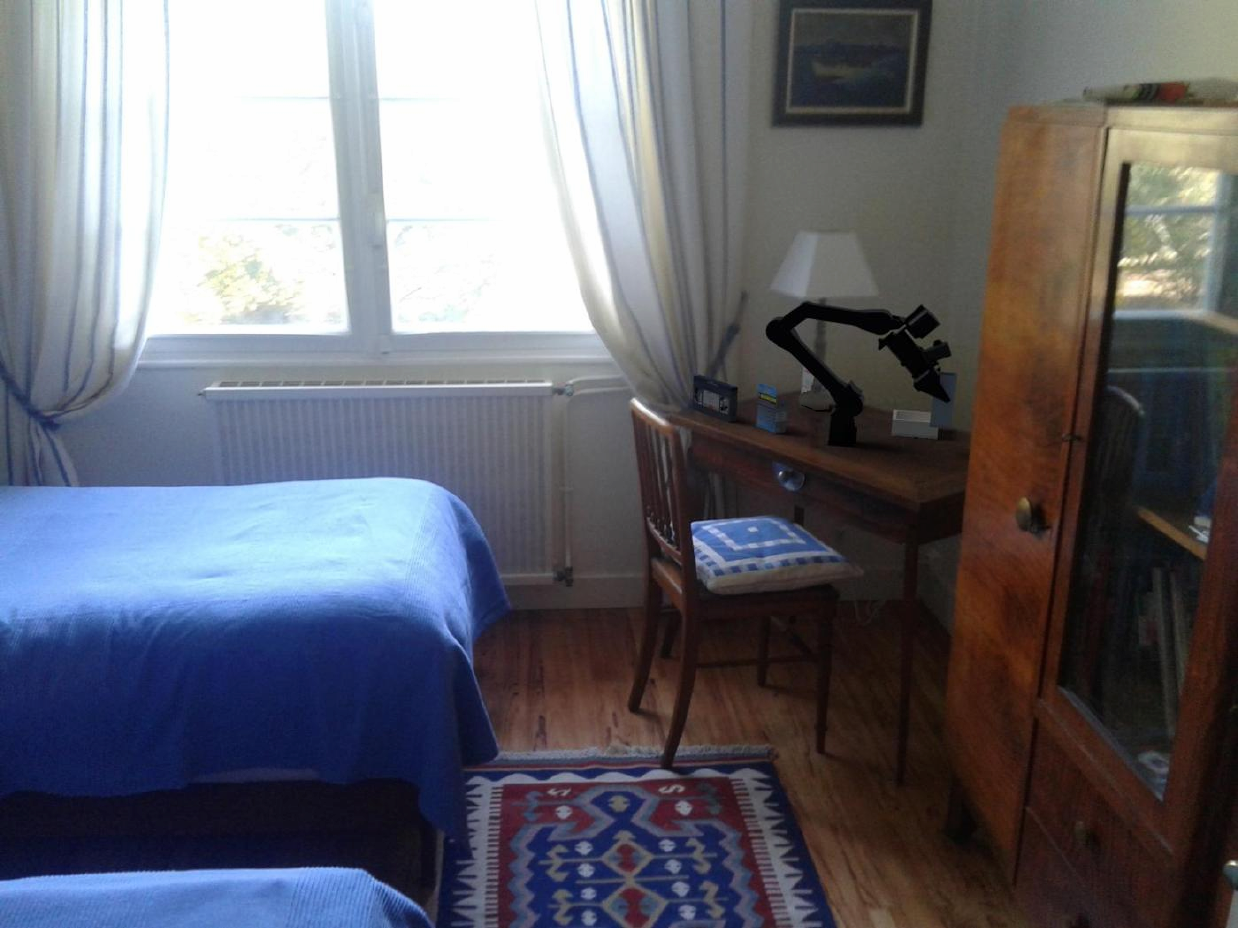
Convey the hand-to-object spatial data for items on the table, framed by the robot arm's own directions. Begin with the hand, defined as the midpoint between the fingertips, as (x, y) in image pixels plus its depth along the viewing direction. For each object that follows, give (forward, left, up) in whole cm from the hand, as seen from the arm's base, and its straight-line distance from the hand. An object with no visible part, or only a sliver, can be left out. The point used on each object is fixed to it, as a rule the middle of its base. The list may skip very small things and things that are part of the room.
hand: (948, 399), depth 262 cm
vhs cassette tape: (-61, +19, -14) cm, 66 cm away
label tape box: (-44, +9, -14) cm, 47 cm away
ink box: (-35, +39, -14) cm, 54 cm away
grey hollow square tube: (-1, 0, -7) cm, 7 cm away
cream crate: (-7, +19, -13) cm, 24 cm away
